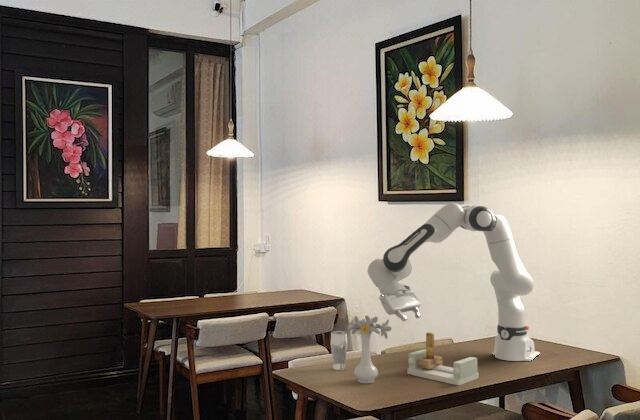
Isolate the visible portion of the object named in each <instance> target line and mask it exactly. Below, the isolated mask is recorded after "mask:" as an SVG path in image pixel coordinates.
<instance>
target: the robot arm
mask: <svg viewBox="0 0 640 420" xmlns="http://www.w3.org/2000/svg"><path fill="white" fill-rule="evenodd" d="M459 227H460V228H462V229H464V230H467V231H472V232H483V234H484V236H485V240H486V244H487V247H488V251H489V255H490V258H491V261H492V262H493V263H494V264H495V266H496V267H497V268H496V269H494V270H493V271H492V272H491V274H490V284H491V286H492V287H493V290H494V293H495V299H496V303H497V309H498V310H497V311H498V312H497V314H498V320H497V321H498V323H497V327H496V329H497V335H496V336H495V337H494V347H493V348H494V349H493V350H494V351H491V355H492V354H493V355H492V356H494V355H495V356H494V357H495V358H496V359H497V360H502V361H509V362H510V361H511V362H532V361H534V360H535V359H536V358H537V357H536V356H537V355H539V354H540V355H541V352H540V351H538V350H537V351H536V350H535V341H534V340H532V338H531V337H530V336H529V335H528V332H527V331H529V330H530V325H527V324H526V325H525V319H526V317H525V315H526V314H525V311H526V310H525V306H524V304H523V303H522V300H521V296H523V297H524V296H528V295H529V294H531V293H532V291H533V289H534V287H535V282H534V278H533V277H532V276H531V275H530V274H529V273H528V271H527V270H526V268H525V266H524V264H523V262H522V261H521V258H520V256H519V254H518V251H517V247H516V245H515V244H516V243H515V242H514V237H513V234H512V231H511V228H510V226H509V224H508V221H507V220H506V218H505V217H504V216H503V215H502V214H494V213H493V211H492V210H491V209H490V208H488V207H487V206H485V205H484V206H483V205H477V204H476V205H475V204H474V205H466V206H465V205H464V206H463V207H462V206H461V205H460V204H458V203H456V202H448V203H447V204H445V205H444V206H443V207H441V208H439V209H438V210H437V211H436V212H435V213H434V214H433V215H432V216H431V217H430V218H429V219H428V220H426V222H425V223H424V224H422V225H420V227H418V228H417V229H416V230H414V231H412V233H411V234H409V235H408V236H407V237H406V238H404V240H402V241H401V242H400V243H399V244H396V245H394V246H391V247H389V248H388V249H386V251H385V252H384V253H383V257H382V258H375V259H374V260H373V261H371V263H369V265H368V266H367V275H368V276H369V278H370V281H372V284H374V286H375V287H377V289H378V290H379V292H380V295H379V298H378V299H379V300H380V303H381V305H382V308H383V309H384V311H385V313H386V314H387V315H388V316H392V315H395V317H397V318H398V319H400V320H401V321H402V322H406V321H407V320H408V317H407V316H406V315H404V314H403V313H406V312H411V311H412V312H413V313H414V317H415V319H420V318H421V317H422V315H421V313H420V309H419V308H420V307H421V306H422V302H421V300H420V299H419V298H418V296H417V295H416V293H415V292H414V291H412V287H411V286H410V285H406V284H402V283H400V281H402V280H403V279H405V278H407V277H408V276H410V274H411V273H412V268H413V267H412V264H411V261H410V257H411V255H413V253H415V252H416V251H417V250H418V249H419V248H420V247H422V246H423V245H424V244H425V243H428V242H429V243H430V242H431V243H435V244H437V243H439V244H440V243H442V242H443V241H444V240H446V239H447V238H448V237H450V235H451V236H452V234H453V233H454V231H456V230H457V229H458V228H459ZM540 355H539V356H540ZM535 357H536V358H535ZM534 358H535V359H534ZM533 359H534V360H533ZM531 360H532V361H531Z"/></svg>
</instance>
